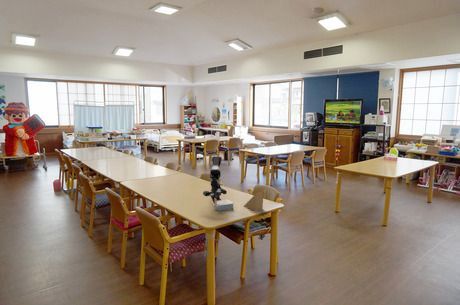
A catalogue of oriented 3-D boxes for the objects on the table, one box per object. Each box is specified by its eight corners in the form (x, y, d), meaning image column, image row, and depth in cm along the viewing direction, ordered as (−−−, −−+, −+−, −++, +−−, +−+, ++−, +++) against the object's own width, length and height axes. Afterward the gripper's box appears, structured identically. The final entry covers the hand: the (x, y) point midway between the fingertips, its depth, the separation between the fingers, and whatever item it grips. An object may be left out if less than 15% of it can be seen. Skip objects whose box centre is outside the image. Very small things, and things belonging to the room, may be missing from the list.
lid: (211, 202, 252) (211, 197, 252) (228, 200, 259) (228, 195, 258) (216, 206, 243) (216, 200, 242) (233, 203, 250) (233, 198, 249)
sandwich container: (250, 204, 264) (250, 187, 261) (262, 209, 252) (263, 191, 250) (242, 206, 258) (243, 189, 256) (255, 211, 247) (256, 193, 244)
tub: (213, 207, 254) (214, 202, 253) (228, 205, 259) (228, 200, 259) (218, 211, 245) (218, 206, 244) (233, 209, 251) (233, 204, 250)
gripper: (208, 187, 234) (207, 207, 237) (229, 185, 242) (229, 204, 245) (202, 184, 244) (202, 203, 247) (223, 182, 252) (223, 200, 255)
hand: (214, 202), depth 248 cm, fingers closed on lid
